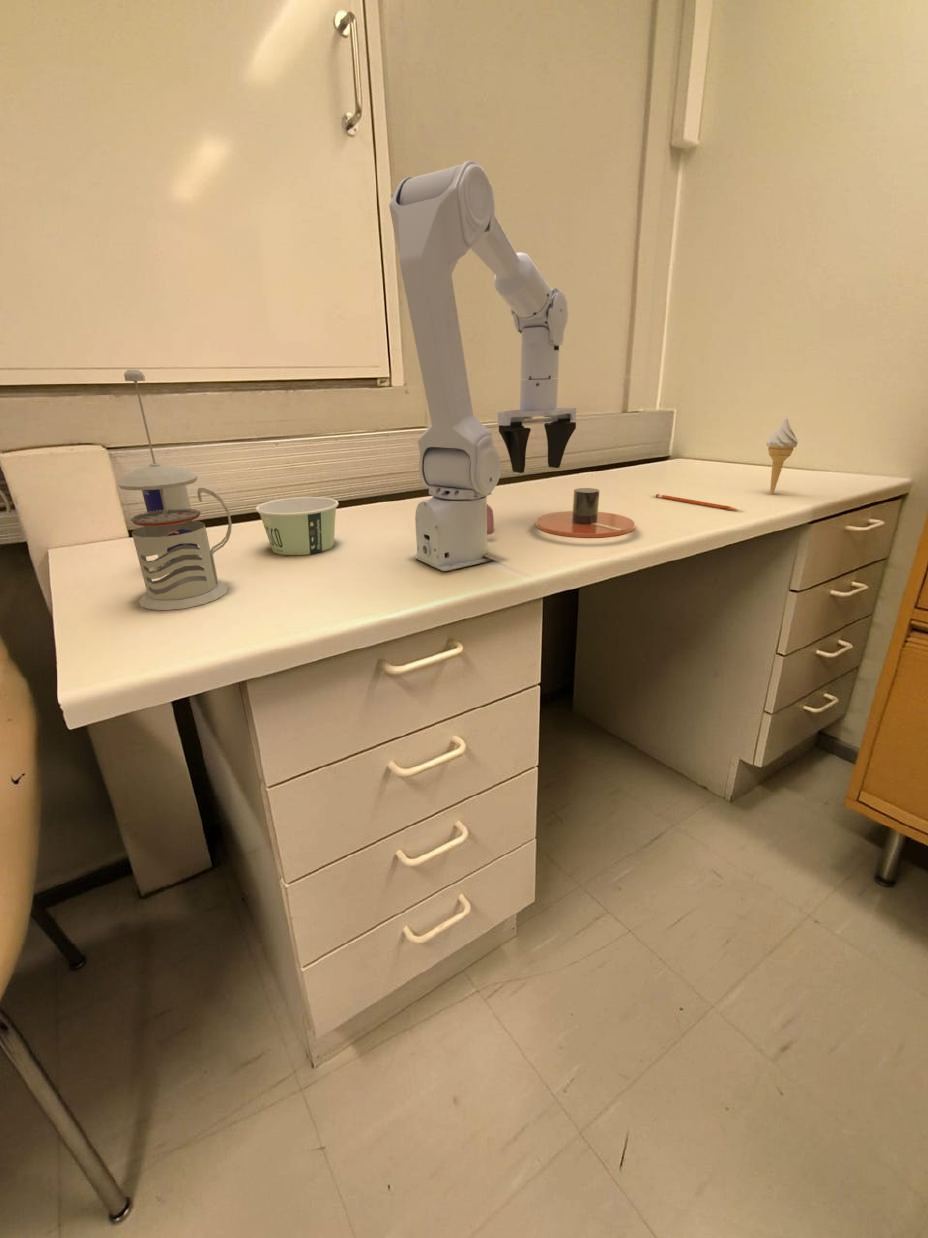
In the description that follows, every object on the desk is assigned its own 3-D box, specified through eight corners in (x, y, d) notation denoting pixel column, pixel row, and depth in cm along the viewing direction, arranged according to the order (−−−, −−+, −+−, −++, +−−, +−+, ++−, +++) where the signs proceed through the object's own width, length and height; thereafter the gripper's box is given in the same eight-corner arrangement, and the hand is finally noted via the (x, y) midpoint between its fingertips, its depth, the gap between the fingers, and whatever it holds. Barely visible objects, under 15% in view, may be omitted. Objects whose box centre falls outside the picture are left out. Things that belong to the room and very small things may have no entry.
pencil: (657, 497, 116) (658, 493, 116) (739, 511, 103) (740, 507, 103) (655, 497, 116) (655, 494, 116) (737, 512, 103) (737, 508, 102)
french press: (142, 588, 70) (85, 370, 61) (240, 574, 75) (202, 368, 65) (135, 616, 62) (68, 368, 52) (246, 598, 66) (203, 366, 57)
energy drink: (156, 571, 77) (134, 482, 72) (165, 560, 81) (144, 476, 77) (199, 567, 78) (180, 479, 73) (204, 557, 83) (187, 473, 78)
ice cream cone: (750, 492, 118) (764, 416, 112) (772, 490, 120) (786, 415, 114) (771, 497, 113) (786, 418, 107) (793, 495, 115) (810, 417, 109)
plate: (516, 523, 93) (517, 489, 91) (583, 510, 101) (585, 478, 99) (585, 543, 81) (587, 504, 79) (655, 526, 89) (659, 491, 87)
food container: (358, 544, 87) (354, 502, 85) (293, 563, 79) (286, 517, 76) (311, 532, 95) (306, 493, 92) (246, 549, 86) (239, 506, 83)
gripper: (518, 379, 80) (517, 477, 85) (591, 378, 87) (586, 467, 93) (489, 380, 85) (489, 471, 91) (560, 378, 93) (557, 463, 98)
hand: (536, 469), depth 92 cm, fingers open, 7 cm apart
